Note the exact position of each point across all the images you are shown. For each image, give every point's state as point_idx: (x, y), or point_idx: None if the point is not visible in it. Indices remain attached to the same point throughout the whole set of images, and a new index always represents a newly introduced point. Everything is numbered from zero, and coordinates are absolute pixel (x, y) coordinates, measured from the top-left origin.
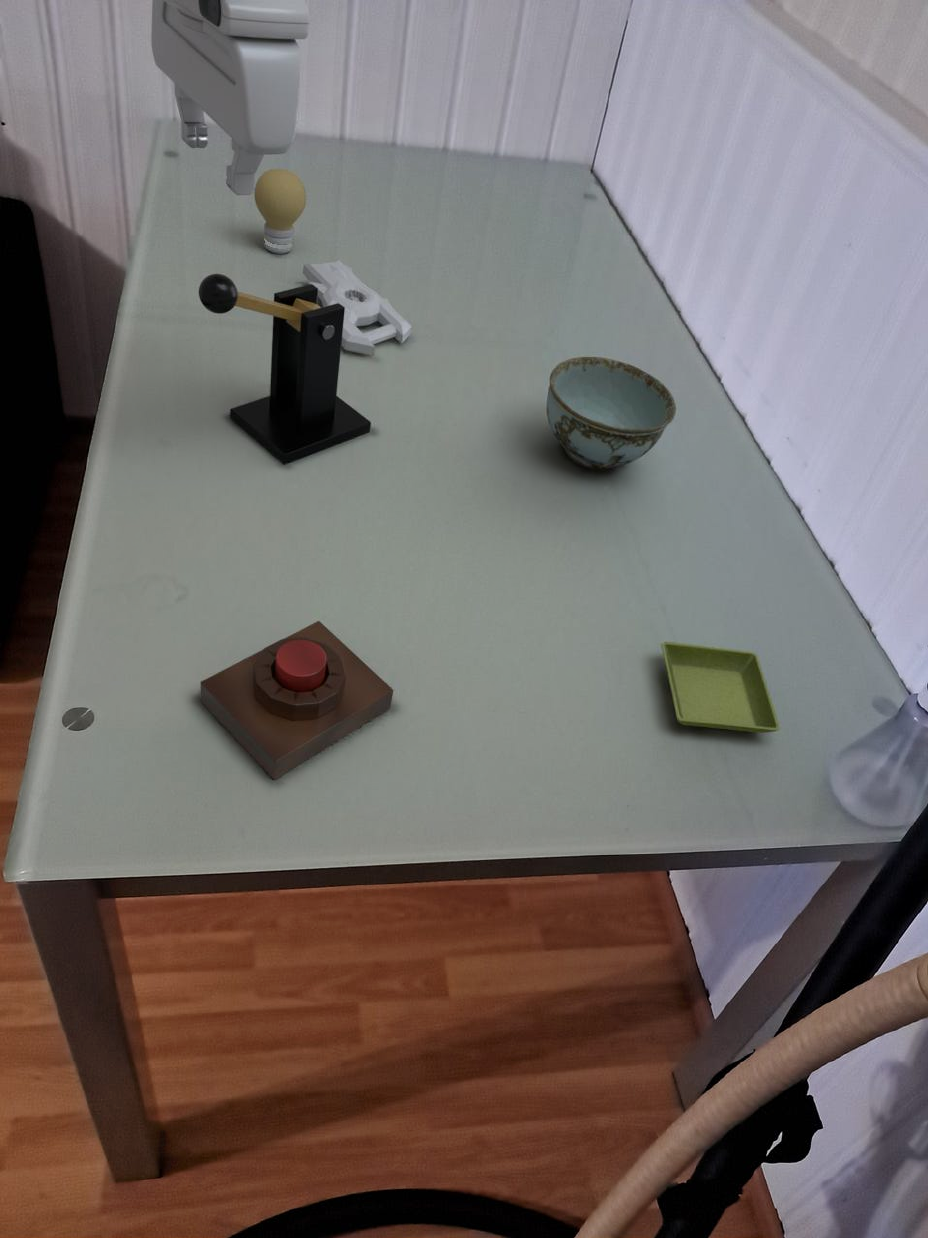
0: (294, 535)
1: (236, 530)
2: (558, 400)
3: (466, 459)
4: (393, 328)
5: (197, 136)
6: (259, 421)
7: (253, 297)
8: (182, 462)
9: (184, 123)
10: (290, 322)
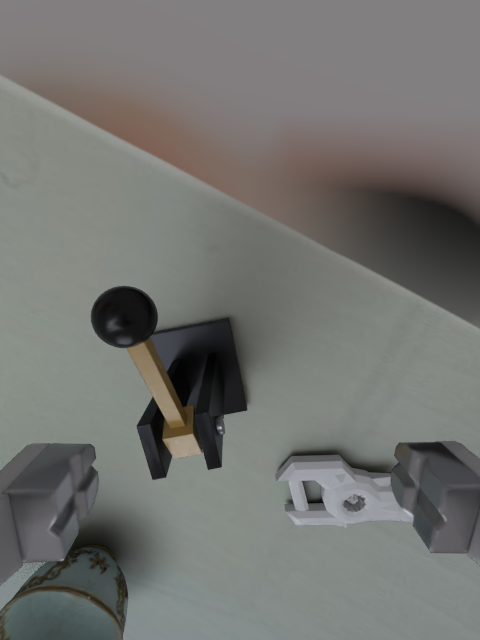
0: (57, 299)
1: (76, 257)
2: (56, 588)
3: (115, 471)
4: (298, 509)
5: (418, 489)
6: (201, 336)
7: (148, 372)
8: (179, 252)
9: (478, 484)
10: (186, 408)
